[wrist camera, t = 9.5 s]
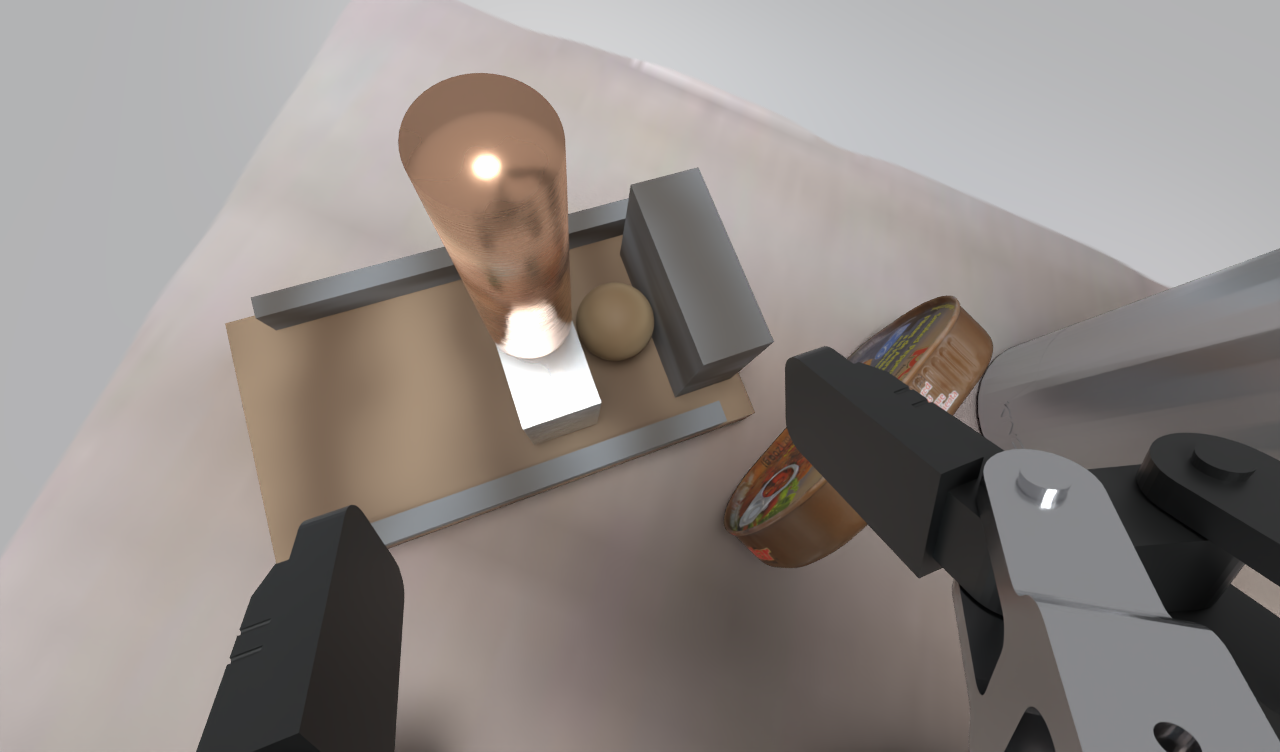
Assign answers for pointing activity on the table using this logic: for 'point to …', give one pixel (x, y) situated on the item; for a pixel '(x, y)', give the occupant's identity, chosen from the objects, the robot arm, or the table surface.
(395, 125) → the table surface
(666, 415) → the railed wooden base
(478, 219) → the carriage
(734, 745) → the table surface
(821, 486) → the tin
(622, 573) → the table surface
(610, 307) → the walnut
